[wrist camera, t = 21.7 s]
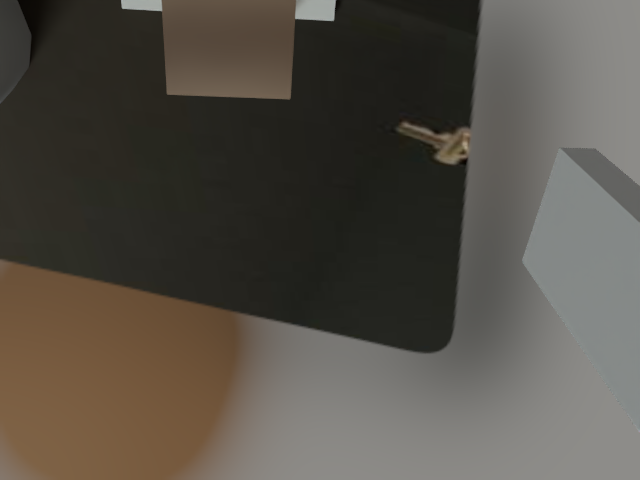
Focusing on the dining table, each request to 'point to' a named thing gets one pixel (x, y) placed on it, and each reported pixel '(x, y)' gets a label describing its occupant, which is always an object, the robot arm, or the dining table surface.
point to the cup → (12, 46)
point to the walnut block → (229, 47)
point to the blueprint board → (310, 4)
